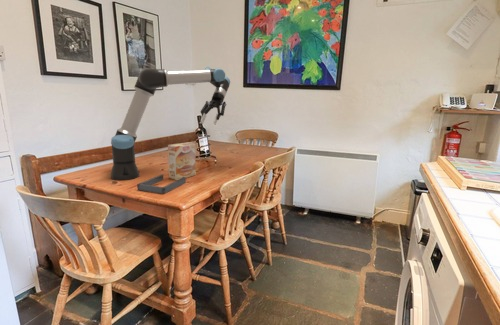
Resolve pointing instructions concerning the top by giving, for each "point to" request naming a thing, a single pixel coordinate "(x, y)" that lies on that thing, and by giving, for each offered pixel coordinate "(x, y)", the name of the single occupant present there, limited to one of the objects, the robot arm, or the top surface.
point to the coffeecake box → (181, 160)
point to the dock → (162, 190)
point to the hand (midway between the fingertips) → (208, 122)
